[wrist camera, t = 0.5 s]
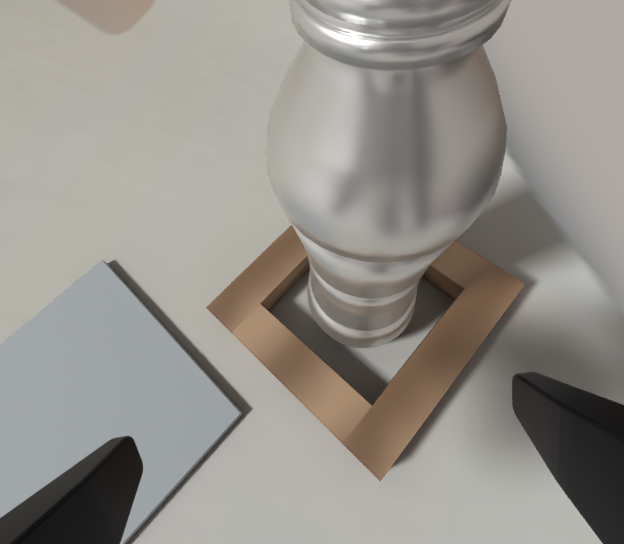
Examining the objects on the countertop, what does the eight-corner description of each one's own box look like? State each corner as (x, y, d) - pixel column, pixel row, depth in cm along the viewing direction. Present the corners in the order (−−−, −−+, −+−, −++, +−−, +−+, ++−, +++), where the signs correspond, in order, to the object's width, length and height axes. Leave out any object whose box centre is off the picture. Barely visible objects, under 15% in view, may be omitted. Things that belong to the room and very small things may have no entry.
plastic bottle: (378, 248, 24) (471, -266, 6) (427, 331, 22) (871, -150, 3) (296, 283, 24) (132, -162, 6) (337, 373, 21) (273, 78, 3)
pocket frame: (510, 295, 22) (525, 284, 20) (376, 475, 19) (380, 481, 17) (346, 188, 27) (346, 171, 25) (217, 316, 23) (206, 307, 22)
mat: (243, 413, 21) (240, 413, 20) (13, 668, 17) (2, 676, 16) (107, 263, 26) (101, 259, 25) (-91, 429, 22) (-102, 430, 22)
